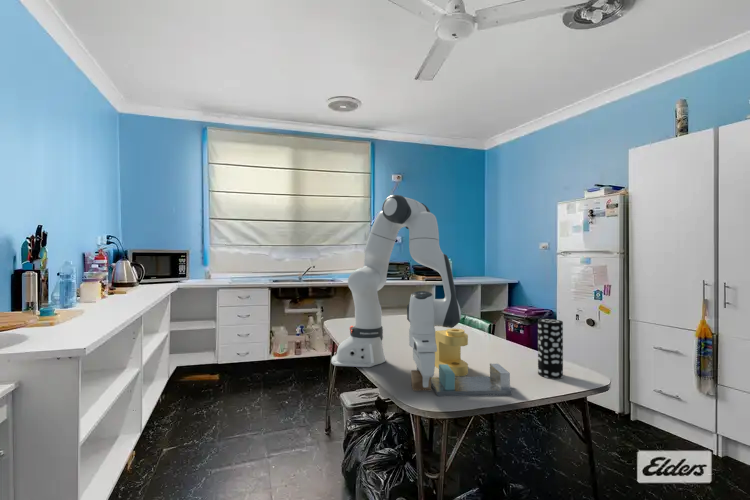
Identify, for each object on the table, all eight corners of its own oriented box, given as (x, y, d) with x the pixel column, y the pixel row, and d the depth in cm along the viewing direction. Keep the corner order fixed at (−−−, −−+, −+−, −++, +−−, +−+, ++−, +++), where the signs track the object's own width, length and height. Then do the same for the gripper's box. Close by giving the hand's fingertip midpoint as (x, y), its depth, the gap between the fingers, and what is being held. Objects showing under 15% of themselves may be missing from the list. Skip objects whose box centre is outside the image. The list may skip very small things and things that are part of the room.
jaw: (445, 389, 119) (445, 374, 119) (438, 378, 129) (438, 364, 129) (454, 389, 119) (454, 374, 119) (447, 378, 129) (447, 364, 129)
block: (413, 391, 122) (413, 374, 122) (411, 386, 127) (411, 370, 127) (431, 391, 122) (431, 374, 122) (428, 386, 127) (428, 370, 127)
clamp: (472, 375, 137) (472, 332, 137) (449, 377, 135) (449, 333, 135) (448, 359, 157) (448, 322, 157) (428, 361, 154) (428, 323, 154)
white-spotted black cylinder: (543, 369, 143) (543, 318, 143) (566, 374, 137) (566, 320, 137) (534, 374, 137) (534, 321, 137) (558, 380, 132) (557, 324, 132)
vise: (437, 396, 118) (437, 375, 118) (429, 381, 131) (429, 363, 131) (511, 394, 119) (511, 374, 119) (496, 380, 132) (496, 362, 132)
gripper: (408, 333, 135) (408, 371, 135) (417, 348, 114) (418, 393, 114) (425, 333, 135) (426, 371, 135) (438, 348, 115) (438, 392, 115)
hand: (422, 381), depth 125 cm, fingers open, 8 cm apart
